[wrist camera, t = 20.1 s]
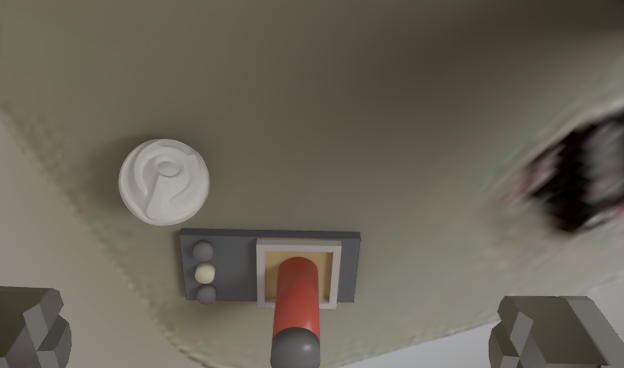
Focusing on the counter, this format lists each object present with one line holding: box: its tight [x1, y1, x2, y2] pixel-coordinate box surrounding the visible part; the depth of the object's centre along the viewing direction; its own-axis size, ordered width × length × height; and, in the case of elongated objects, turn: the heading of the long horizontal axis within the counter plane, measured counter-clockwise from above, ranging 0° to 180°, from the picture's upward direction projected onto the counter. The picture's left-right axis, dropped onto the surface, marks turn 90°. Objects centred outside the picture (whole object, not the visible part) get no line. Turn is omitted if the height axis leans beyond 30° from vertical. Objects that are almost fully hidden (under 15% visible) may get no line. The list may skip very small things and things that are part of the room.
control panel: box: [179, 229, 361, 309], centre depth 55 cm, size 19×9×2 cm, turn 88°
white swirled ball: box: [118, 139, 209, 226], centre depth 46 cm, size 8×8×8 cm
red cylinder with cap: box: [270, 257, 320, 368], centre depth 50 cm, size 4×4×12 cm
